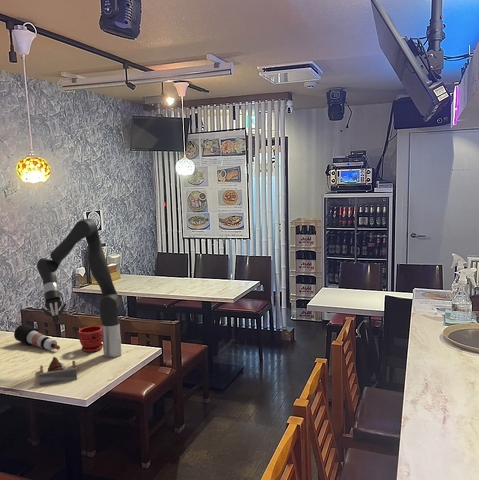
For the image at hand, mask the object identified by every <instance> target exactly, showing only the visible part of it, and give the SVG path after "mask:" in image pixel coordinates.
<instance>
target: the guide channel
mask: <svg viewBox="0 0 479 480" xmlns="http://www.w3.org/2000/svg"><path fill="white" fill-rule="evenodd" d="M71 364H72V367H71V368H66V369H64V370H58V371H51V372H47V371H46V372H44V366H43V365H39V373H38V380H39V382H38V383H39V386H45V385H50V384H56V383H57V384H58V383H62V382H69V381H75V380H78V373H77V367H76V361H75V360H72V363H71Z"/></svg>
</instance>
